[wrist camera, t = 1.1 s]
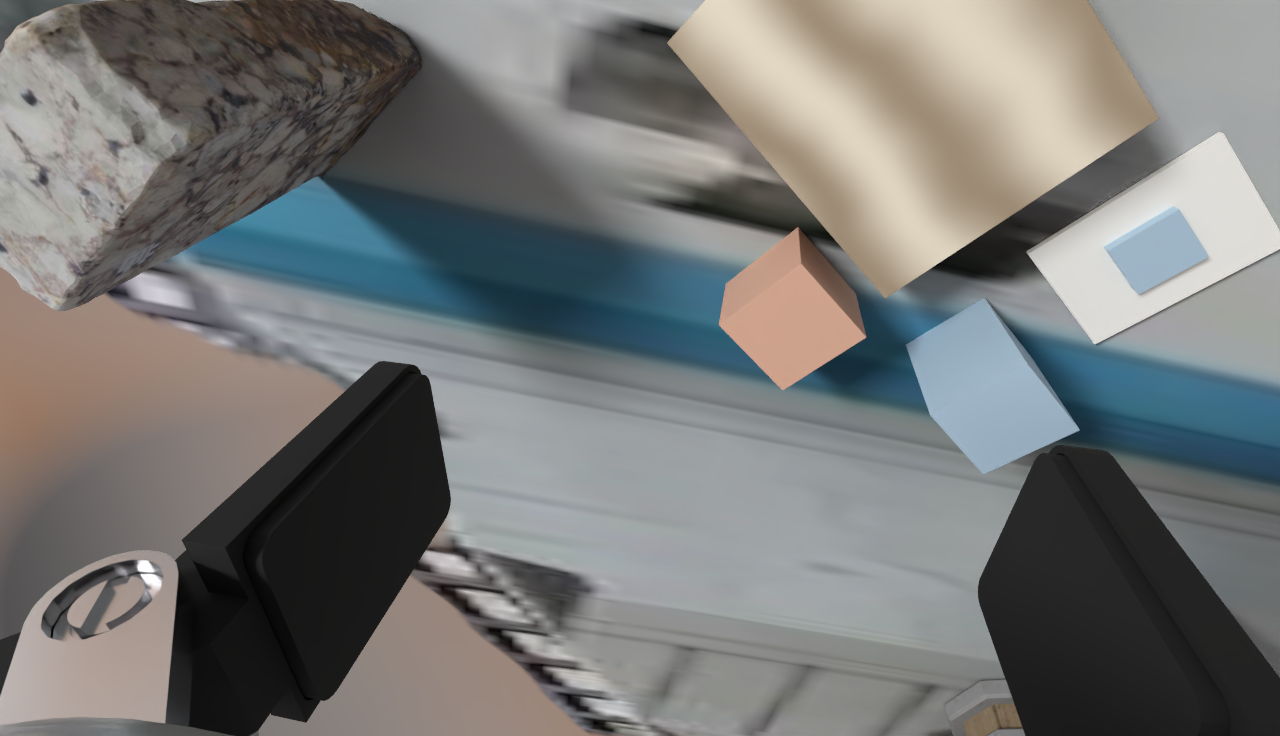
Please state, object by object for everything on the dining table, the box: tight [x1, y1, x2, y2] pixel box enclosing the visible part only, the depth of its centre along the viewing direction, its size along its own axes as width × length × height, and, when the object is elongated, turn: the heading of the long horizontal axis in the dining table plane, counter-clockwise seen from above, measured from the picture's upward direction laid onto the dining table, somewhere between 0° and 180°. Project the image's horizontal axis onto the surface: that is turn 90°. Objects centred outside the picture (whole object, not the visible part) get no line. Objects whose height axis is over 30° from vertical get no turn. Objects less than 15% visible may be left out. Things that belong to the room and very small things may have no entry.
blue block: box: [906, 298, 1080, 474], centre depth 37 cm, size 6×6×8 cm
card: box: [1026, 132, 1280, 344], centre depth 35 cm, size 10×8×1 cm
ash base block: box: [668, 0, 1159, 298], centre depth 31 cm, size 14×18×5 cm
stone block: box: [0, 0, 422, 311], centre depth 31 cm, size 13×7×20 cm, turn 133°
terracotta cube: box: [719, 227, 866, 390], centre depth 38 cm, size 6×6×6 cm
